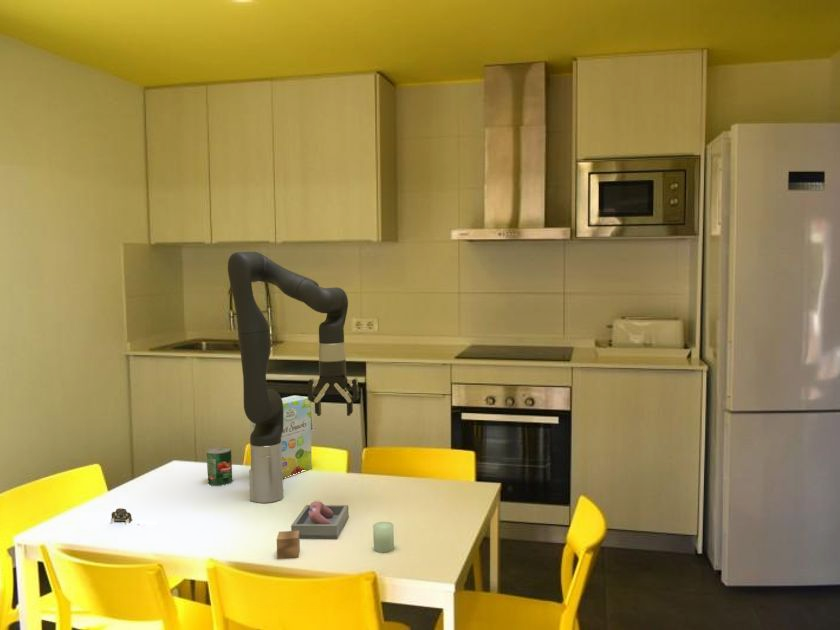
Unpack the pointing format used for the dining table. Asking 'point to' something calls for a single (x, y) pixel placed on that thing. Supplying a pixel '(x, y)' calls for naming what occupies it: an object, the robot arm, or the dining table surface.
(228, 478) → the canned tomato
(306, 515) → the charcoal tray
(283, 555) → the walnut cube
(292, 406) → the snack box
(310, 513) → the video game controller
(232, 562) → the dining table surface
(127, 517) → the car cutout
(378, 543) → the sage cylinder
